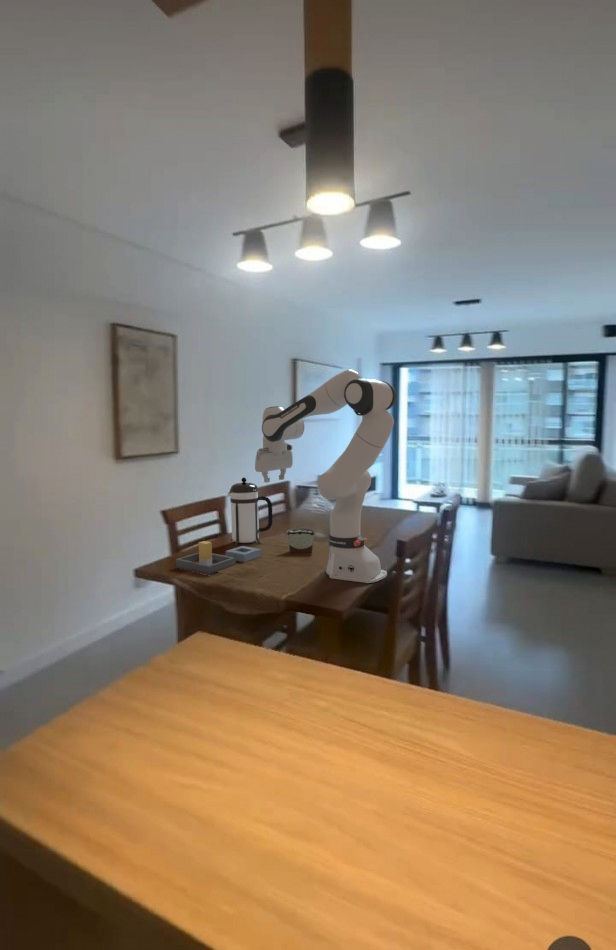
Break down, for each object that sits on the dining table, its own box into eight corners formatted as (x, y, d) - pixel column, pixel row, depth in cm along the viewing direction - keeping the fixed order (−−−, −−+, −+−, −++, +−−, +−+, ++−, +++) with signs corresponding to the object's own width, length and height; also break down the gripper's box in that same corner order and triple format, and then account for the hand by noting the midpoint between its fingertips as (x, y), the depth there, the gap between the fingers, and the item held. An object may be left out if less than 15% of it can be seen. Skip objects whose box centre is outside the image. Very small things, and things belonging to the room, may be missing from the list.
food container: (316, 550, 234) (316, 527, 233) (315, 554, 228) (315, 531, 227) (288, 550, 235) (287, 527, 234) (286, 554, 229) (285, 530, 228)
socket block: (261, 558, 222) (261, 549, 222) (244, 564, 214) (244, 554, 214) (242, 555, 228) (242, 545, 228) (225, 560, 220) (225, 551, 219)
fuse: (212, 565, 211) (211, 542, 210) (206, 567, 209) (205, 544, 208) (205, 563, 213) (204, 541, 212) (199, 565, 211) (198, 542, 210)
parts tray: (235, 566, 212) (235, 557, 211) (209, 576, 200) (209, 566, 200) (202, 559, 222) (202, 551, 221) (176, 568, 211) (175, 559, 210)
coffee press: (250, 549, 237) (248, 480, 234) (222, 544, 246) (220, 478, 242) (273, 540, 252) (272, 476, 248) (246, 536, 260) (244, 474, 257)
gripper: (263, 449, 211) (263, 484, 213) (295, 445, 228) (295, 478, 229) (250, 448, 215) (251, 483, 216) (283, 445, 231) (283, 477, 233)
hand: (274, 481), depth 223 cm, fingers open, 8 cm apart
